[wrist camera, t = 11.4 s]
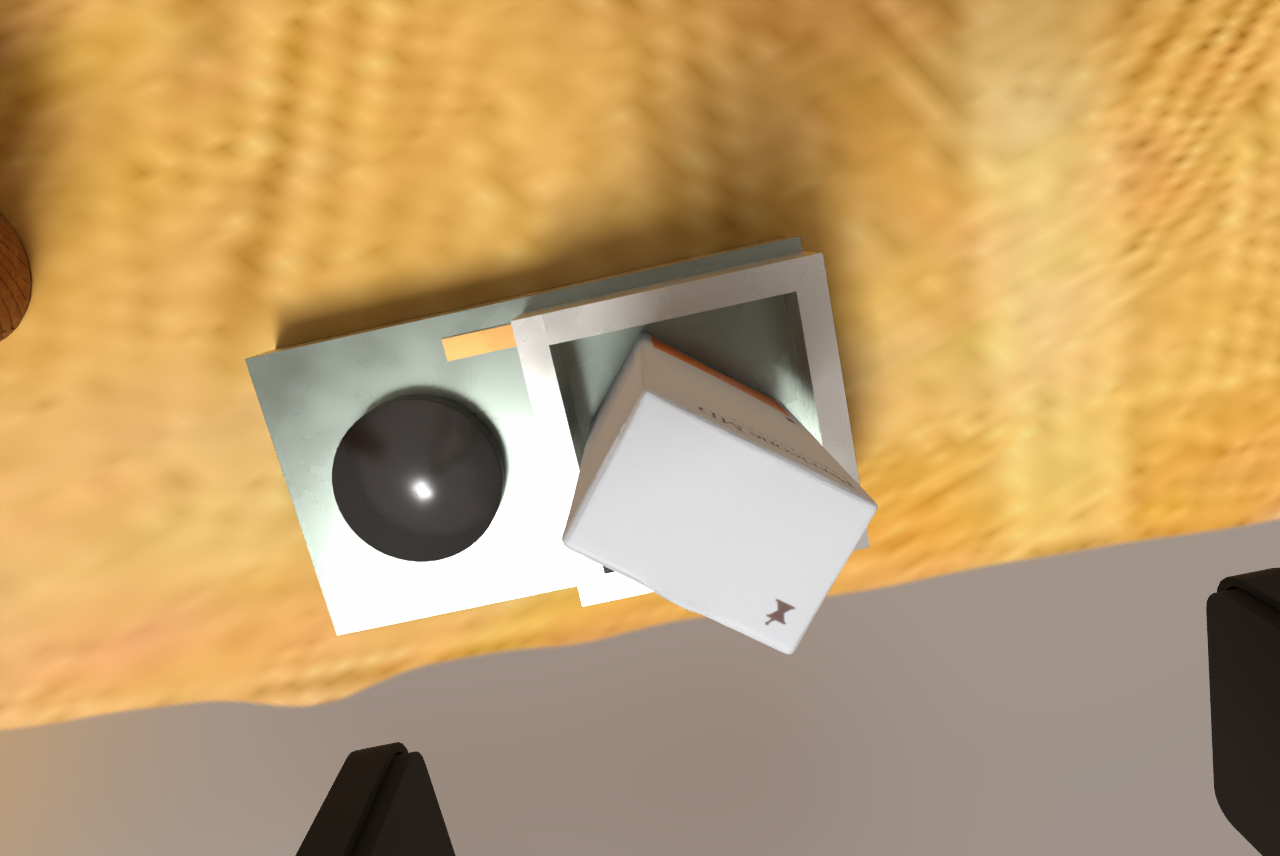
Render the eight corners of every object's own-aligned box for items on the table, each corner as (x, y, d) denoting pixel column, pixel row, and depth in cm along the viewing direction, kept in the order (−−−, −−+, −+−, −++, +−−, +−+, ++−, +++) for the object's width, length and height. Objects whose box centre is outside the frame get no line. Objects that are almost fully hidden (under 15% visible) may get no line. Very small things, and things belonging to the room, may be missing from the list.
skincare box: (786, 400, 29) (891, 509, 18) (729, 500, 30) (794, 667, 18) (638, 323, 28) (644, 383, 17) (583, 427, 29) (554, 553, 18)
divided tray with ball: (786, 236, 30) (820, 236, 25) (832, 507, 33) (871, 560, 28) (274, 349, 31) (201, 373, 26) (358, 606, 34) (306, 676, 28)
